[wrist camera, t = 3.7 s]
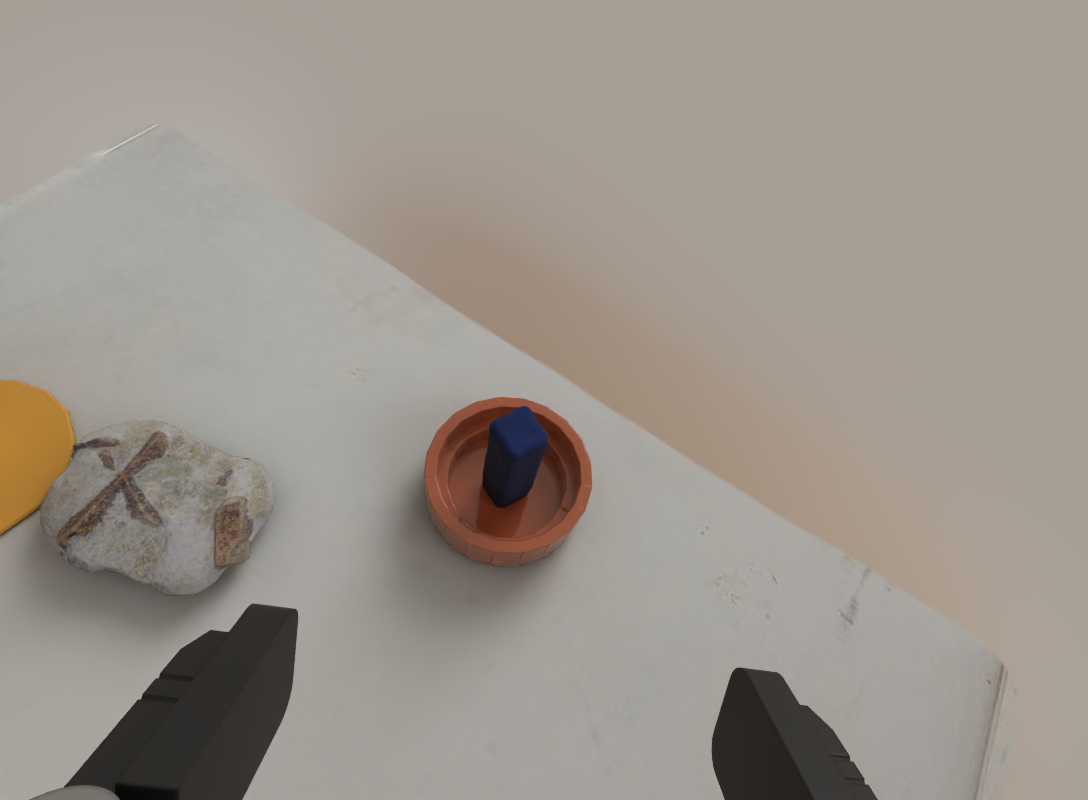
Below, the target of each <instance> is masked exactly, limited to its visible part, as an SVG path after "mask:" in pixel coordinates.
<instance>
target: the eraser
mask: <svg viewBox="0 0 1088 800" xmlns="http://www.w3.org/2000/svg"><path fill="white" fill-rule="evenodd" d="M548 441H549V438H548V434H547V432H546V431H545V430H544V429H543V428H542V426H541V425H540V424H539V422H538V421H537V420H536V418H535V416H534V415H533V413H532V411H531V409H530V408H529V407H527V406H521V407H519V408H517V409H515V410H514V411H512V412H510V413H509V414H507V415H505V416H503V417H500V418H497V419H495V420H494V421H492V422H491V424H490V425H489V435H488V446H487V452H486V455H485V462H484V469H483V481H482V483H483V487H484V489H485V491H486V493H487V494H488V495H489V496H490V498H491V499H492V501H493V503H494V504H495V505H496V506H497V507H499V508H504V507H506V506H508V505H510V504H513V503H515V502H517V501H519V500H520V499H522V498H523V497H525V496H526V495H527V494H528V493H529V491H530V490H531V488H532V487H533V485H534V480H535V478H536V475H537V472H538V468H539V466H540V464H541V461H542V458H543V456H544V454H545V453H546V450H547V444H548Z"/></svg>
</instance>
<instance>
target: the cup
mask: <svg viewBox="0 0 1088 800" xmlns="http://www.w3.org/2000/svg"><path fill="white" fill-rule="evenodd" d="M73 444H75V437H74V433H73V428H72V424H71V419H70V415H69V412H68V411H67V410H66V409H65V408H64V407H63V406H62V405H61V404H60V403H59V402H58V401H57V400H56V399H55V398H54V397H53V396H52V395H51V394H50V393H48V392H47V391H45V390H42V389H39V388H36V387H33V386H30V385H27V384H24V383H21V382H18V381H15V380H14V381H0V535H1V534H3V533H4V532H5V531H7V530H8V529H10V528H11V527H13V526H14V525H15V524H17V523H18V522H20V521H21V520H22V519H24V518H25V517H27V516H28V515H29V514H31V513H32V512H34V511H35V510H37V509H38V508H39V507H40V506H41V504H42V502H43V500H44V498H45V497H46V496H47V493H48V489H49V488H50V486H51V484H52V483H53V481H54V480H55V479H56V478H58V477H59V476H60V475H61V474H62V473H63V472H64V471H65V470H66V469H67V467H68V464H69V461H70V458H71V454H72V451H73Z"/></svg>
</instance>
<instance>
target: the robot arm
mask: <svg viewBox="0 0 1088 800" xmlns="http://www.w3.org/2000/svg"><path fill="white" fill-rule="evenodd" d="M297 626H298V612H297V610H296V609H292V608H284V607H276V606H268V605H261V604H251V605H250V606H249V607H248V608H247V609H246V610H245V612H244V613H243V614H242V616H241V617H240V618H239V620H238V621H237V622H236V624H235V625H234V626H233V628H232V629H231V630H230V631H229V632H222V631H214V630H210V631H209V632H207V633H205V634H204V635H202V636H201V637H199V638H197V639H196V640H194V641H193V642H191V643H190V644H188V645H186V646H185V647H183V648H182V649H180V651H179V652H178V653H177V654H176V655H175V656H174V658H173V659H172V660H171V661H170V662H169V664H168V665H167V666H166V667H165V668H164V669H163V671H162V672H161V673H160V676H159V678H158V679H157V678H156V679H155V680H154V681H153V683H152V684H151V685H150V686H149V687H148V688H147V690H146V691H145V692H144V693H143V695H142V698H141V700H137V701H136V703H135V704H134V705H133V706H132V707H131V709H130V710H129V711H128V712H127V713H126V715H125V716H124V717H123V718H122V719H121V720H120V722H119V723H118V724H117V725H116V726H115V728H114V729H113V730H112V731H111V732H110V733H109V735H108V736H107V737H106V738H105V739H104V741H103V742H102V743H101V744H100V745H99V747H98V748H97V749H96V750H95V751H94V752H93V754H92V755H91V756H90V757H89V758H88V760H87V761H86V762H85V763H84V764H83V765H82V767H81V768H80V769H79V770H78V771H77V773H76V774H75V775H74V776H73V777H72V779H71V780H70V781H69V782H68V783H67V784H66V785H65V786H64V787H63V788H60V789H56V790H53V791H50V792H47V793H44V794H42V795H39V796H37V797H34V798H32V799H30V800H242V799H243V797H244V795H245V793H246V791H247V789H248V787H249V785H250V783H251V781H252V779H253V777H254V775H255V773H256V771H257V769H258V767H259V765H260V763H261V761H262V759H263V757H264V755H265V753H266V751H267V749H268V747H269V745H270V743H271V741H272V739H273V738H274V736H275V734H276V732H277V730H278V728H279V726H280V724H281V721H282V719H283V717H284V714H285V711H286V708H287V705H288V702H289V698H290V694H291V690H292V684H293V674H294V662H295V650H296V638H297ZM712 761H713V767H714V771H715V774H716V777H717V780H718V782H719V785H720V788H721V790H722V793H723V796H724V799H725V800H878V799H877V798H876V796H875V795H874V793H873V791H872V790H871V788H870V787H869V785H865V782H864V778H863V776H862V774H861V773H860V771H859V770H858V768H857V767H856V765H855V764H854V762H851V761H850V756H849V754H848V753H847V751H846V750H845V748H844V746H843V745H842V743H841V742H840V740H839V739H838V737H837V736H836V734H835V733H834V731H833V730H832V729H831V728H830V727H829V726H828V725H827V724H826V723H825V722H824V721H823V720H822V719H821V718H820V717H819V716H818V715H816V714H815V713H814V712H813V711H812V710H811V709H810V708H809V707H808V706H804V705H800V704H799V703H798V701H797V700H796V698H795V696H794V695H793V693H792V691H791V690H790V688H789V686H788V685H787V683H786V681H785V680H784V678H783V677H782V676H781V675H780V674H779V673H777V672H770V671H762V670H755V669H747V668H736V669H735V670H734V671H733V672H732V674H731V677H730V680H729V683H728V686H727V690H726V693H725V696H724V700H723V703H722V706H721V710H720V713H719V716H718V720H717V723H716V726H715V729H714V733H713V738H712Z"/></svg>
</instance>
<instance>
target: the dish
mask: <svg viewBox="0 0 1088 800" xmlns="http://www.w3.org/2000/svg"><path fill="white" fill-rule="evenodd" d="M521 406H527V407H529V408H530V409H531V411H532V413H533V415H534V416H535V418H536V420H537V421H538V422H539V424H540V425H541V426H542V428H543V429H544V430H545V431H546V432H547V434H548V438H549V441H548V444H547V450H546V453H545V454H544V456H543V458H542V461H541V464H540V466H539V468H538V472H537V475H536V478H535V480H534V485H533V487H532V488H531V490H530V491H529V493H528V494H527V495H526V496H525V497H523V498H522V499H520V500H519V501H517V502H515V503H513V504H510V505H508V506H506V507H504V508H499V507H497V506H496V505H495V504H494V503H493V501H492V499H491V498H490V496H489V495H488V494H487V493H486V491H485V489H484V487H483V483H482V481H483V469H484V462H485V455H486V452H487V446H488V435H489V425H490V424H491V422H492V421H494V420H495V419H497V418H500V417H503V416H505V415H507V414H509V413H510V412H512V411H514V410H515V409H517V408H519V407H521ZM424 483H425V497H426V501H427V505H428V509H429V513H430V517H431V519H432V521H433V523H434V524H435V526H436V527H437V529H438V530H439V532H440V534H441V535H442V537H443V538H444V539H445V540H446V542H448V543H449V544H450V545H451V546H453V547H454V548H455V549H456V550H458V551H459V552H460V553H462V554H463V555H464V556H467V557H469V558H471V559H474V560H477V561H480V562H482V563H485V564H488V565H490V564H491V566H517V565H518V566H519V565H522V564H526V563H529V562H533V561H536V560H539V559H541V558H544V557H545V556H547V555H548V554H549V553H551V552H552V551H554V550H555V549H556V548H558V547H559V546H561V545H562V544H563V543H564V541H565V540H566V538H567V537H568V536H569V534H570V533H571V531H572V530H573V529H574V527H575V526H576V524H577V523H578V521H579V519H580V518H581V516H582V515H583V513H584V511H585V509H586V506H587V503H588V499H589V496H590V492H591V489H592V473H591V463H590V459H589V456H588V454H587V451H586V449H585V446H584V443H583V441H582V439H581V438H580V437H579V435H578V434H577V433H576V432H575V430H574V429H573V428H572V427H571V425H570V424H569V423H568V422H567V421H566V420H565V419H564V418H562V417H561V416H559V415H558V414H557V413H555V412H554V411H552V410H551V409H549V408H548V407H546V406H544V405H541V404H538V403H535V402H532V401H529V400H526V399H520V398H505V397H500V398H499V397H497V398H493V399H488V400H483V401H478V402H476V403H473V404H471V405H469V406H467V407H465V408H463V409H462V410H460V411H458V412H456V413H455V414H453V415H452V416H451V417H450V418H449V419H448V420H447V421H446V422H445V423H444V424H443V426H442V427H441V428H440V429H439V430H438V431H437V433H436V434H435V437H434V439H433V441H432V443H431V445H430V447H429V449H428V451H427V455H426V463H425V473H424Z"/></svg>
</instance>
